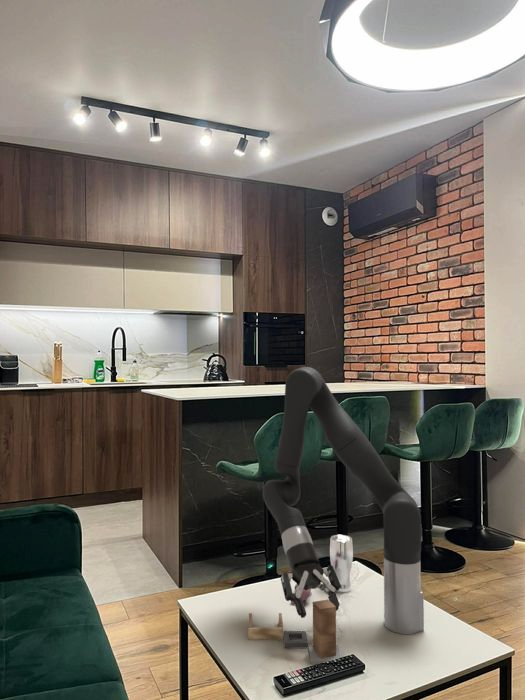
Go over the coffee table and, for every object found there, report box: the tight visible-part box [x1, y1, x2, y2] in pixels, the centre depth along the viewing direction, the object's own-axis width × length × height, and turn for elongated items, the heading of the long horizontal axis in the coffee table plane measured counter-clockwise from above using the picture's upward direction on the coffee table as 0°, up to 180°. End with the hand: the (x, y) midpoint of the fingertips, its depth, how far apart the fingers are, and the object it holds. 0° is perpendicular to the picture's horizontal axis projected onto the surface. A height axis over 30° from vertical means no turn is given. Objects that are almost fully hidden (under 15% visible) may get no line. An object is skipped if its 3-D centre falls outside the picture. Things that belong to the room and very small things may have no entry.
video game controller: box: [290, 583, 313, 605], centre depth 149 cm, size 10×5×7 cm, turn 169°
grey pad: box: [307, 643, 342, 665], centre depth 119 cm, size 7×7×1 cm
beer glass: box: [329, 534, 354, 593], centre depth 156 cm, size 7×7×15 cm
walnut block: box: [312, 598, 337, 659], centre depth 120 cm, size 4×4×11 cm
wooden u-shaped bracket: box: [247, 612, 284, 640], centre depth 130 cm, size 9×8×2 cm
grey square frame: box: [283, 630, 309, 649], centre depth 125 cm, size 6×6×1 cm
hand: (320, 613), depth 122 cm, fingers open, 8 cm apart
